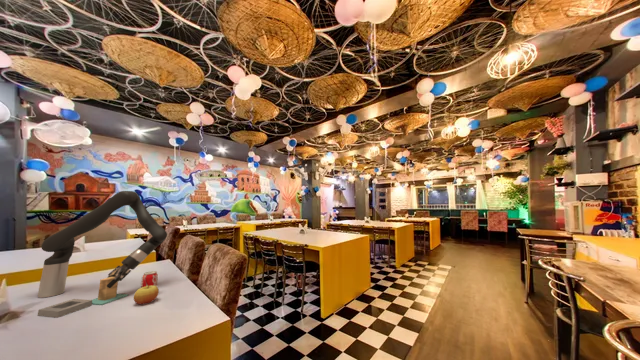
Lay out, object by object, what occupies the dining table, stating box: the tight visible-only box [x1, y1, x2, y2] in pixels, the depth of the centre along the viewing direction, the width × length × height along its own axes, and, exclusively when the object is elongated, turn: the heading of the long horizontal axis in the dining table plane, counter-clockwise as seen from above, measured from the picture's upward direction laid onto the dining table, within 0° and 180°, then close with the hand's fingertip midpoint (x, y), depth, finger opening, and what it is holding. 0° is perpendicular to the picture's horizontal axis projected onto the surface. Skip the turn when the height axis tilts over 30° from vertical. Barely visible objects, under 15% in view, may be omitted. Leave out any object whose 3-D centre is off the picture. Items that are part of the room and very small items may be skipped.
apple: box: [133, 285, 160, 305], centre depth 106 cm, size 10×10×8 cm
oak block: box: [97, 277, 119, 301], centre depth 111 cm, size 5×5×10 cm
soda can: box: [140, 270, 159, 288], centre depth 116 cm, size 7×7×12 cm
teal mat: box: [91, 293, 129, 306], centre depth 110 cm, size 12×12×1 cm
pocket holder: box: [37, 298, 93, 318], centre depth 99 cm, size 12×12×2 cm
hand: (105, 285), depth 110 cm, fingers open, 8 cm apart
